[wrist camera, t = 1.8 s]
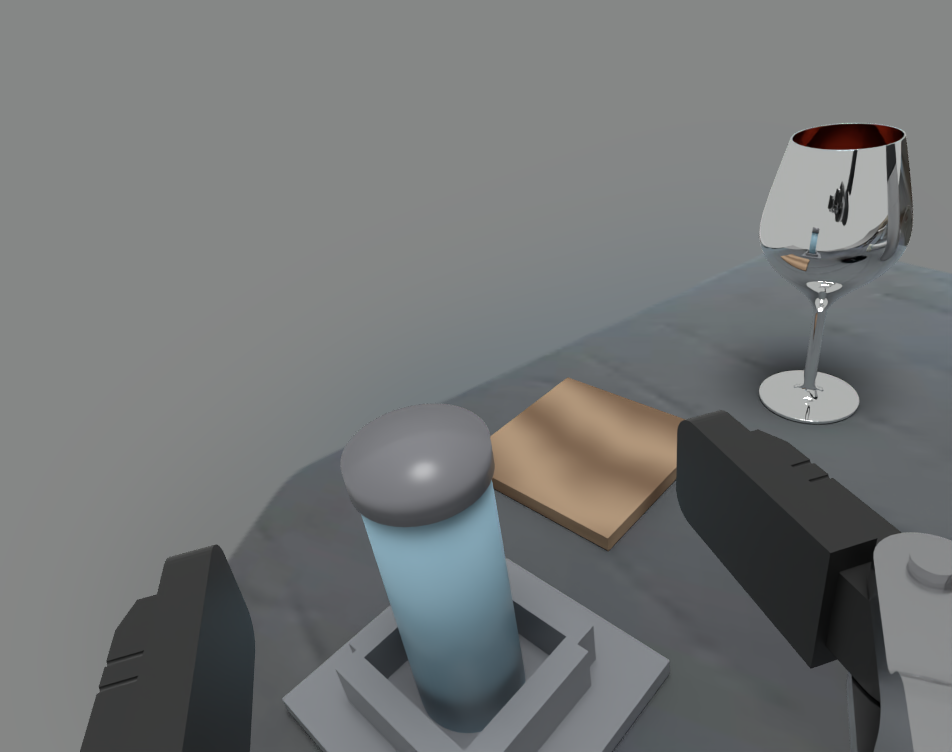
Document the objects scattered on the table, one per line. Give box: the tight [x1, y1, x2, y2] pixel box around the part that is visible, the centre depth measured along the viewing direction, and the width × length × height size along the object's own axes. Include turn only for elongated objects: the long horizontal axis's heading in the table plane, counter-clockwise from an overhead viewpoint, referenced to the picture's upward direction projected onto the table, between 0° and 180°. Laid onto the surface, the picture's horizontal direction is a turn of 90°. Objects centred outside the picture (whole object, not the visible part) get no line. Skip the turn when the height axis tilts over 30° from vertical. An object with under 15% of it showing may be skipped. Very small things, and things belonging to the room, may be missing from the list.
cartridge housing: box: [282, 557, 670, 752], centre depth 30 cm, size 13×13×4 cm
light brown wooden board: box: [490, 378, 685, 551], centre depth 44 cm, size 12×12×1 cm
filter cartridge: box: [340, 403, 525, 733], centre depth 27 cm, size 5×5×14 cm
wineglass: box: [759, 123, 913, 424], centre depth 42 cm, size 8×8×18 cm
